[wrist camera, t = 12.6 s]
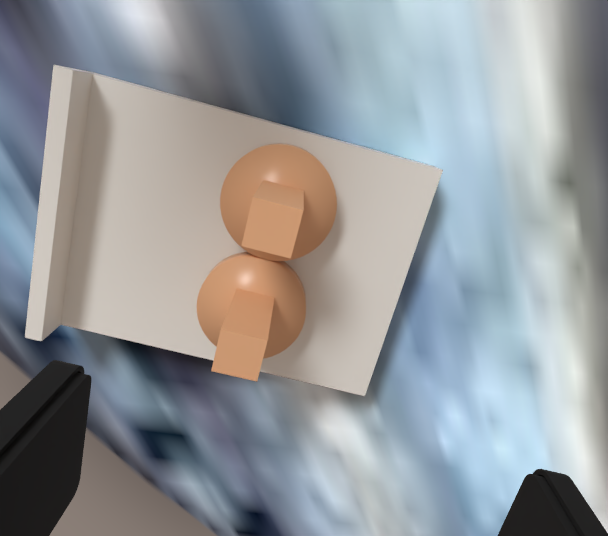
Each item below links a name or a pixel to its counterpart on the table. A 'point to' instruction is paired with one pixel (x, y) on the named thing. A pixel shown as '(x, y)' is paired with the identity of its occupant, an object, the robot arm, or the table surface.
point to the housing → (216, 224)
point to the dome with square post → (250, 312)
